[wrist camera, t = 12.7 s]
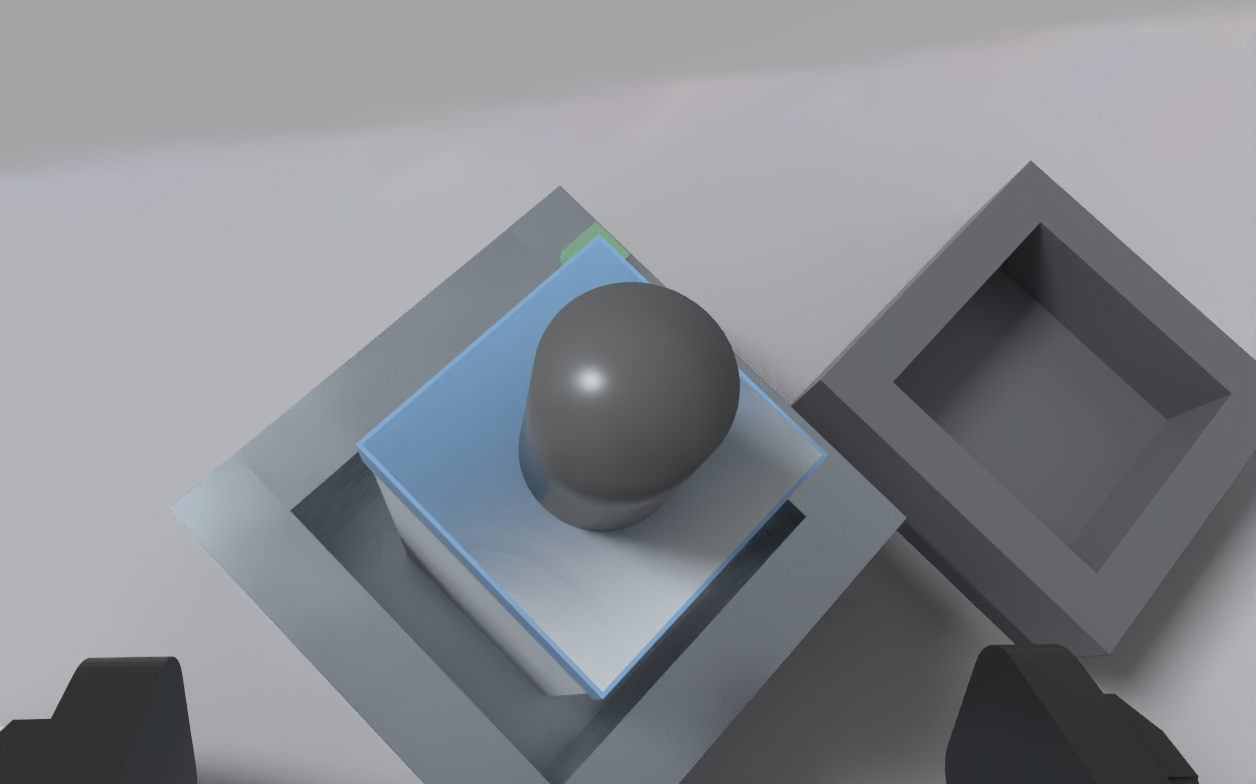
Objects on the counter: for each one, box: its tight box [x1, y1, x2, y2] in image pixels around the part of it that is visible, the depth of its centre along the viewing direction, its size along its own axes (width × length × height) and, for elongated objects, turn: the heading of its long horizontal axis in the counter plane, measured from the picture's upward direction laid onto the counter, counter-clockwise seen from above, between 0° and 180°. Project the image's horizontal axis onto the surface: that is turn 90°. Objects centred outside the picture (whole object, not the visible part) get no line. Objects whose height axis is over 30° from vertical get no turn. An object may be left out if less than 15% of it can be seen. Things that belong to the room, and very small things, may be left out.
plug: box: [355, 234, 828, 700], centre depth 13 cm, size 4×4×10 cm
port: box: [168, 186, 906, 784], centre depth 17 cm, size 8×8×4 cm
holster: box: [791, 161, 1256, 657], centre depth 20 cm, size 7×7×2 cm
